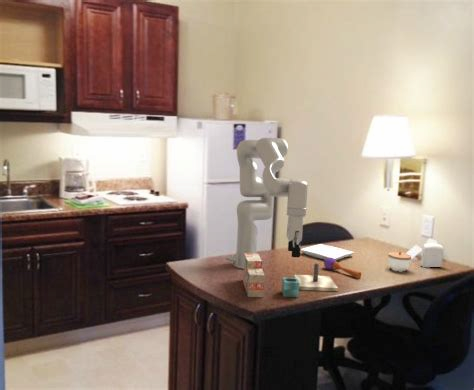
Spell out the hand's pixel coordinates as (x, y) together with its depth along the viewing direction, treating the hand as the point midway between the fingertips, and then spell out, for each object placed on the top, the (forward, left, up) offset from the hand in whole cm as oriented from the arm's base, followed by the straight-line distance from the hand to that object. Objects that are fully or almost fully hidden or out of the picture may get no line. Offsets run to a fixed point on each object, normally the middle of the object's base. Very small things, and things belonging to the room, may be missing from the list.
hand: (293, 254), depth 200 cm
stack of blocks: (-15, +6, -17) cm, 24 cm away
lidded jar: (+60, +42, -17) cm, 75 cm away
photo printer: (+80, +50, -17) cm, 96 cm away
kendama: (+29, +33, -17) cm, 48 cm away
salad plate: (+29, +63, -18) cm, 72 cm away
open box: (0, 0, -17) cm, 17 cm away
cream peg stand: (+13, +14, -17) cm, 26 cm away
